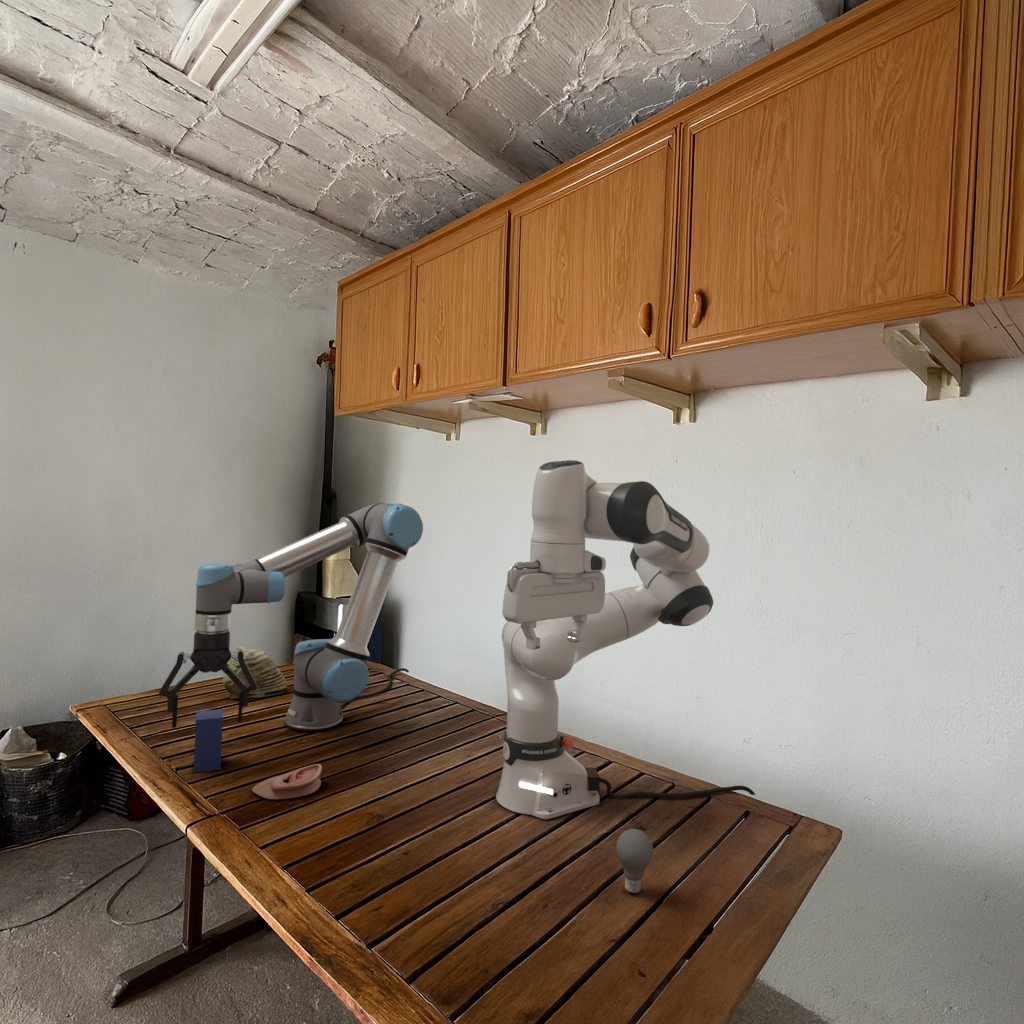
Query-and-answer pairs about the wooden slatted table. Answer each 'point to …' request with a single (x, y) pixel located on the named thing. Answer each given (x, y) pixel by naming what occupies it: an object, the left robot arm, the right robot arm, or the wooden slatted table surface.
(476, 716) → the wooden slatted table surface
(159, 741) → the wooden slatted table surface
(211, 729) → the block
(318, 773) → the anatomical model
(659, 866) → the wooden slatted table surface
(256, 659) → the fossil
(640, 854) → the light bulb
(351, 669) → the left robot arm
